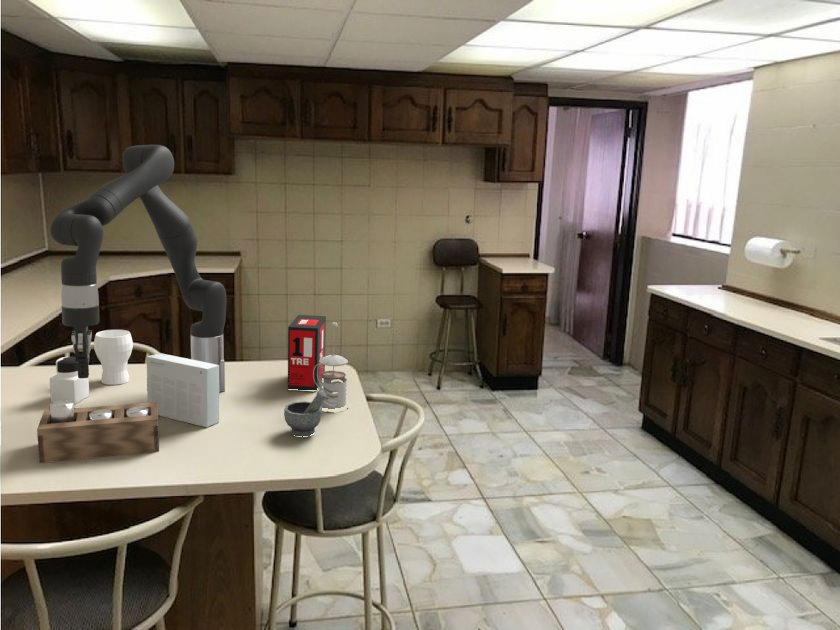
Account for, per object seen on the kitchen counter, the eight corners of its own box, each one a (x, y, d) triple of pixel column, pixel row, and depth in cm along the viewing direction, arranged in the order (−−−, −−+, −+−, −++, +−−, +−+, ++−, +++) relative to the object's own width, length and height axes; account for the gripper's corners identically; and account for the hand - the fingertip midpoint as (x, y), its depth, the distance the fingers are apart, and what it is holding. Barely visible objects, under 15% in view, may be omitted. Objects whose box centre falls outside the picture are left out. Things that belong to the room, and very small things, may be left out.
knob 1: (75, 419, 161) (74, 399, 160) (73, 426, 157) (72, 406, 156) (52, 421, 159) (51, 400, 158) (50, 428, 155) (48, 408, 154)
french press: (334, 415, 190) (337, 328, 184) (303, 405, 196) (304, 321, 190) (356, 405, 198) (359, 322, 192) (325, 397, 204) (327, 315, 198)
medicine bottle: (89, 396, 195) (87, 355, 192) (75, 404, 188) (72, 363, 185) (66, 394, 195) (63, 353, 193) (50, 402, 188) (47, 361, 186)
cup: (109, 374, 214) (106, 328, 211) (141, 377, 213) (139, 330, 209) (88, 384, 204) (85, 336, 200) (121, 388, 202) (119, 339, 199)
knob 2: (148, 425, 168) (148, 405, 167) (148, 432, 163) (148, 412, 162) (127, 427, 166) (126, 407, 165) (127, 434, 162) (126, 414, 161)
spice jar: (113, 428, 165) (112, 408, 164) (112, 435, 160) (111, 415, 159) (91, 430, 163) (90, 410, 162) (89, 437, 159) (88, 417, 158)
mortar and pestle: (277, 437, 173) (277, 392, 171) (292, 424, 182) (293, 381, 180) (319, 443, 171) (320, 397, 168) (332, 429, 180) (333, 386, 177)
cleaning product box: (297, 373, 224) (298, 314, 220) (324, 375, 224) (325, 316, 220) (287, 390, 208) (288, 326, 204) (316, 391, 208) (317, 328, 204)
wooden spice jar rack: (158, 431, 173) (157, 402, 171) (159, 451, 162) (157, 419, 160) (46, 442, 163) (44, 410, 162) (39, 463, 152) (36, 429, 151)
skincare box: (221, 421, 181) (220, 364, 178) (207, 428, 176) (205, 369, 173) (161, 406, 190) (159, 351, 186) (146, 412, 185) (144, 356, 181)
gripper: (97, 309, 149) (100, 384, 152) (99, 297, 161) (102, 368, 164) (58, 309, 146) (62, 387, 149) (64, 298, 158) (67, 370, 161)
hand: (83, 377), depth 157 cm, fingers closed
